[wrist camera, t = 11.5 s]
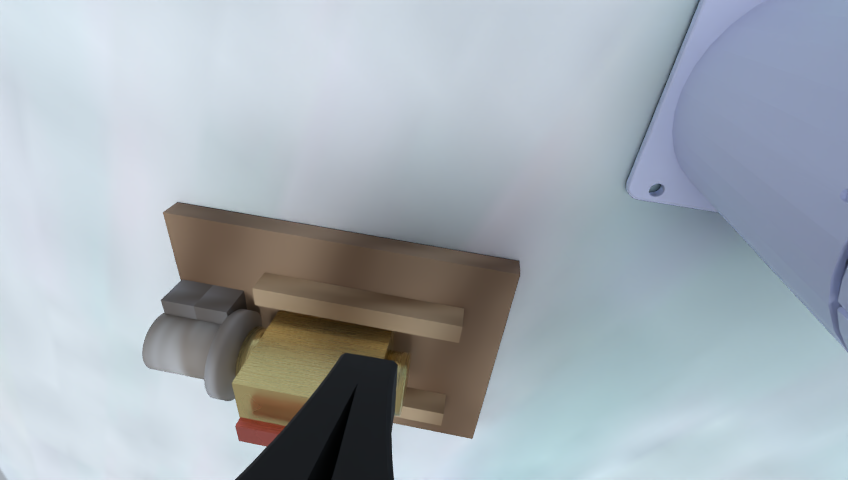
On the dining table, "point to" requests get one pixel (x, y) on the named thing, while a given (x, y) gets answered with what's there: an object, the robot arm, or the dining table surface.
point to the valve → (300, 368)
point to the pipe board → (334, 304)
